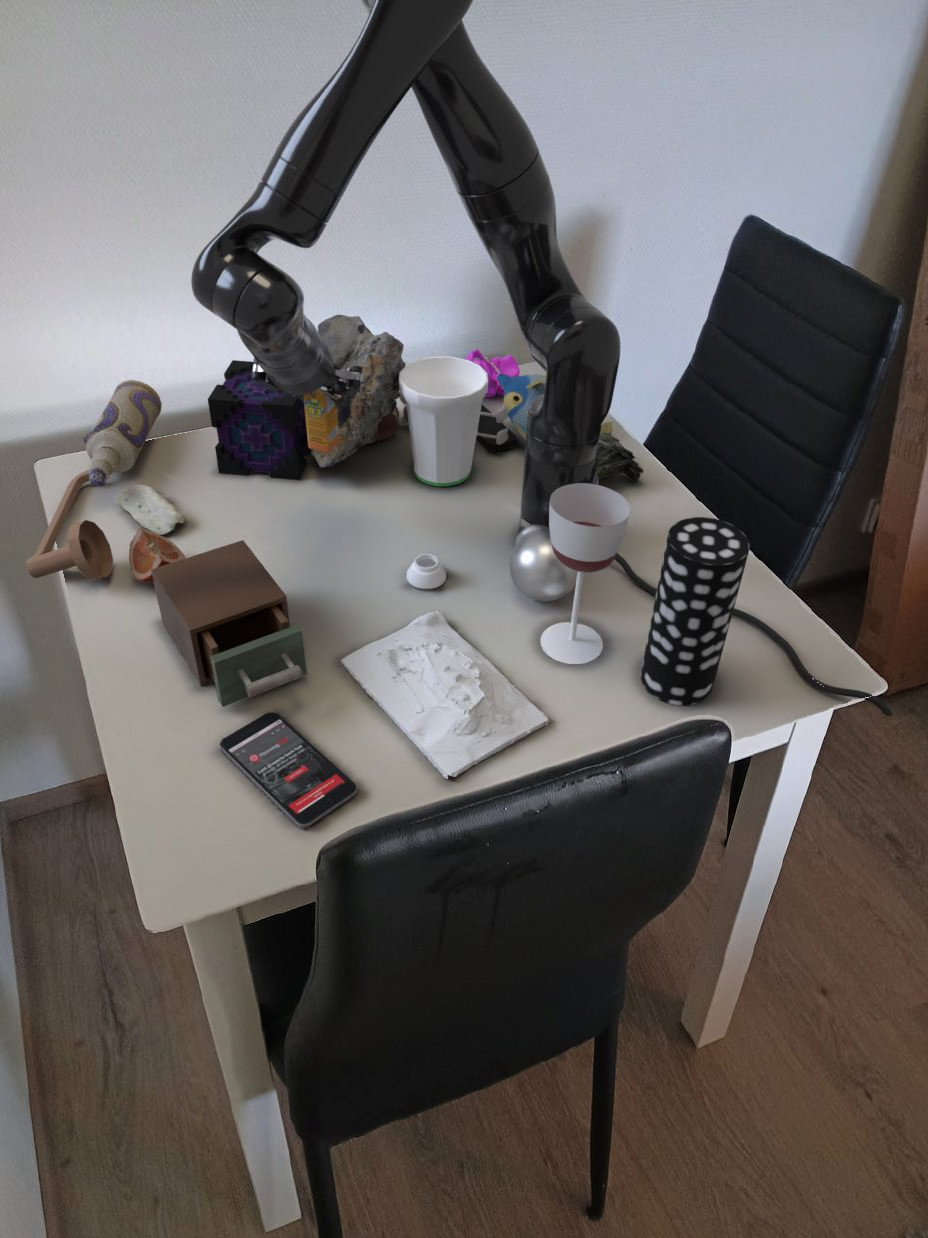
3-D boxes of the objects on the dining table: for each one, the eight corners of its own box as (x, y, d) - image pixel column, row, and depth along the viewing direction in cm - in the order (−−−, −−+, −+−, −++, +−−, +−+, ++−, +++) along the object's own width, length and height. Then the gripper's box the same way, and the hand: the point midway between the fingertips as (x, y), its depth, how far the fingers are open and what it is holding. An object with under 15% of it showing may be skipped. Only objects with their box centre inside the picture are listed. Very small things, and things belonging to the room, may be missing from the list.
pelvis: (531, 361, 167) (520, 400, 170) (482, 343, 170) (472, 381, 173) (497, 367, 157) (486, 408, 160) (446, 347, 160) (437, 387, 163)
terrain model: (428, 618, 125) (427, 585, 122) (566, 712, 112) (569, 678, 109) (321, 679, 116) (317, 646, 113) (457, 789, 103) (457, 754, 100)
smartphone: (302, 827, 98) (216, 742, 106) (302, 831, 99) (217, 747, 107) (360, 787, 102) (273, 708, 110) (360, 792, 103) (274, 713, 111)
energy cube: (318, 438, 155) (312, 366, 147) (299, 480, 146) (292, 405, 138) (242, 431, 156) (232, 359, 148) (218, 473, 147) (207, 398, 139)
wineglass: (589, 675, 117) (610, 536, 104) (523, 647, 120) (536, 508, 107) (618, 637, 122) (642, 499, 109) (555, 611, 125) (570, 475, 112)
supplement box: (306, 449, 131) (299, 379, 124) (318, 437, 133) (312, 367, 127) (328, 454, 130) (323, 384, 124) (341, 442, 133) (336, 372, 126)
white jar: (453, 579, 129) (427, 562, 132) (454, 561, 128) (427, 544, 130) (425, 596, 127) (398, 578, 129) (425, 578, 125) (398, 560, 127)
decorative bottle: (108, 405, 157) (121, 369, 153) (154, 427, 159) (169, 392, 155) (57, 486, 136) (71, 447, 132) (111, 510, 138) (127, 472, 135)
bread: (334, 407, 162) (332, 379, 159) (404, 413, 161) (403, 385, 158) (318, 443, 154) (315, 415, 151) (391, 450, 153) (390, 421, 150)
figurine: (516, 394, 151) (413, 379, 158) (497, 407, 146) (392, 391, 154) (516, 441, 154) (416, 424, 162) (498, 455, 150) (395, 437, 157)
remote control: (519, 449, 155) (473, 402, 164) (520, 439, 153) (473, 392, 163) (491, 456, 153) (446, 408, 162) (491, 446, 152) (446, 398, 161)
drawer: (322, 695, 112) (318, 651, 108) (236, 730, 108) (228, 685, 103) (266, 617, 122) (260, 574, 117) (185, 647, 117) (175, 602, 113)
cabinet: (293, 651, 119) (286, 596, 113) (200, 686, 114) (189, 630, 108) (251, 593, 126) (243, 539, 121) (162, 624, 122) (150, 569, 116)
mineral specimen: (654, 497, 145) (614, 509, 154) (646, 410, 146) (606, 426, 155) (567, 499, 139) (530, 511, 148) (559, 407, 139) (522, 424, 148)
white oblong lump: (112, 500, 140) (122, 473, 139) (141, 504, 144) (151, 478, 143) (158, 542, 134) (169, 515, 133) (187, 545, 138) (198, 518, 137)
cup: (500, 465, 150) (505, 371, 140) (454, 504, 142) (457, 407, 132) (430, 440, 155) (431, 347, 145) (383, 476, 147) (380, 381, 137)
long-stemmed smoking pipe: (89, 498, 146) (60, 456, 141) (145, 481, 145) (118, 437, 140) (41, 608, 127) (6, 563, 122) (105, 588, 125) (72, 542, 120)
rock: (397, 452, 133) (304, 381, 127) (327, 499, 150) (242, 438, 144) (464, 320, 144) (382, 249, 139) (392, 377, 161) (316, 316, 155)
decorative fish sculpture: (513, 330, 150) (496, 411, 143) (634, 372, 153) (622, 454, 147) (489, 378, 161) (471, 455, 154) (602, 417, 164) (589, 494, 158)
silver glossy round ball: (610, 562, 124) (561, 499, 126) (564, 587, 118) (513, 520, 120) (570, 599, 131) (525, 539, 133) (524, 625, 125) (477, 561, 126)
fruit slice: (123, 563, 130) (115, 532, 127) (174, 548, 133) (167, 517, 129) (144, 600, 125) (136, 568, 121) (196, 583, 127) (190, 551, 124)
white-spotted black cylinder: (712, 711, 113) (750, 570, 100) (637, 699, 114) (665, 558, 101) (713, 661, 119) (749, 523, 106) (642, 650, 120) (669, 512, 107)
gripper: (356, 323, 112) (381, 373, 129) (233, 313, 113) (274, 364, 130) (349, 388, 111) (375, 430, 129) (224, 378, 113) (267, 421, 130)
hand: (324, 396), depth 129 cm, fingers closed on supplement box, 3 cm apart
